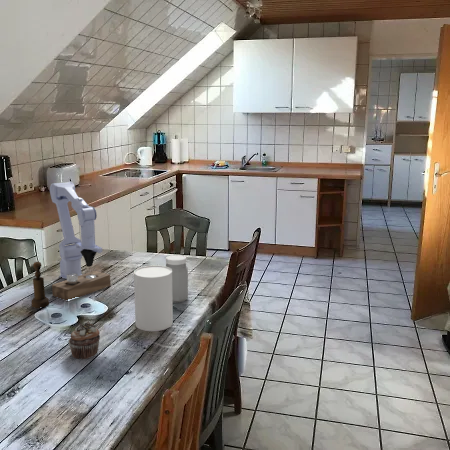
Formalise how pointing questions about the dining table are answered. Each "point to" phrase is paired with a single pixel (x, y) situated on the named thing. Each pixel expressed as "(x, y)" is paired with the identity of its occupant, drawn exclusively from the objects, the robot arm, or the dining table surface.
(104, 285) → the walnut frame
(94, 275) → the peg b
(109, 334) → the dining table surface
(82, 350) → the cupcake
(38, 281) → the dark brown tall piece
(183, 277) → the jar
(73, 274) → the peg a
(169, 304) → the canister
